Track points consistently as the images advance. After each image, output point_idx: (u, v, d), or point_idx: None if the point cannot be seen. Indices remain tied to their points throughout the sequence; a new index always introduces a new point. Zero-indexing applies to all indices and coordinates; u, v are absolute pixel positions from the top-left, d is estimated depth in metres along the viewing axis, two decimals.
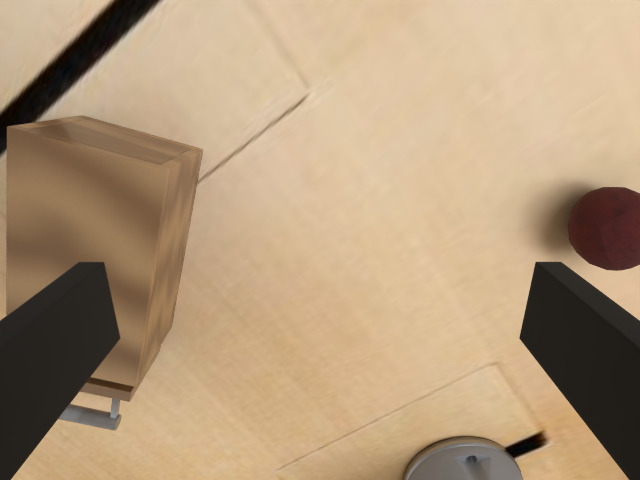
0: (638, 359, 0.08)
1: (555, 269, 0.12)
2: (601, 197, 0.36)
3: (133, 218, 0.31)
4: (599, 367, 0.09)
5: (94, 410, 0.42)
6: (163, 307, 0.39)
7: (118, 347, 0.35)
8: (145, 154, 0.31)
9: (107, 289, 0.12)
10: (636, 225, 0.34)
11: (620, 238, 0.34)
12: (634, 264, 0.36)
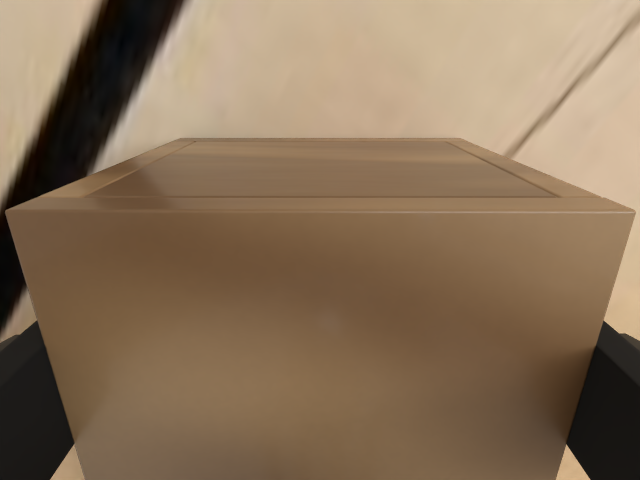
0: None
1: None
2: None
3: (489, 404, 0.09)
4: None
5: None
6: None
7: None
8: (448, 178, 0.10)
9: None
10: None
11: None
12: None
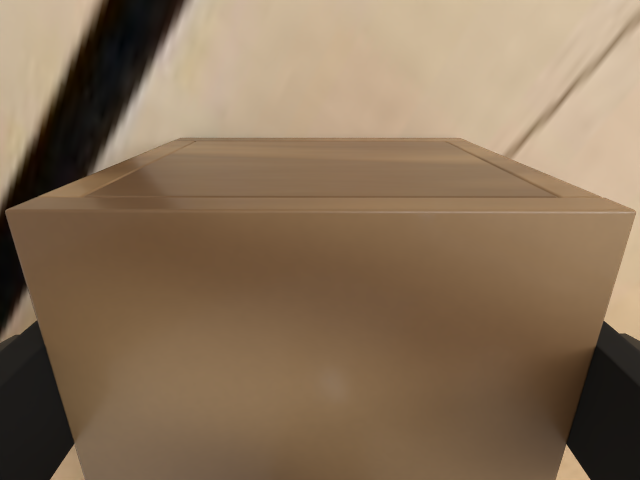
0: None
1: None
2: None
3: (489, 404, 0.09)
4: None
5: None
6: None
7: None
8: (448, 178, 0.10)
9: None
10: None
11: None
12: None
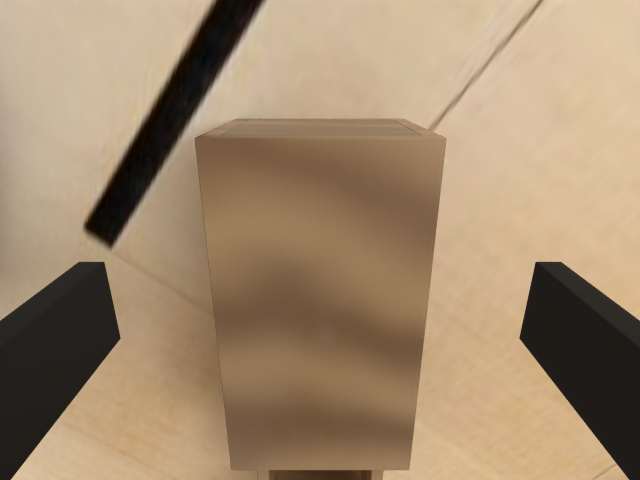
0: (638, 359, 0.08)
1: (555, 269, 0.12)
2: None
3: (395, 230, 0.20)
4: (599, 367, 0.09)
5: None
6: None
7: (382, 423, 0.24)
8: (380, 131, 0.20)
9: (107, 289, 0.12)
10: None
11: None
12: None
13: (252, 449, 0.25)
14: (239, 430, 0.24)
